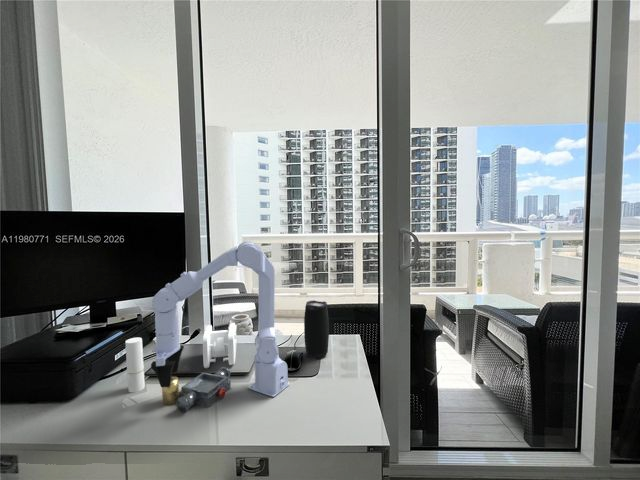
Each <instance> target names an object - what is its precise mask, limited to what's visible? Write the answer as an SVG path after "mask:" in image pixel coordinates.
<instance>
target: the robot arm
mask: <svg viewBox="0 0 640 480" xmlns="http://www.w3.org/2000/svg"><path fill="white" fill-rule="evenodd" d="M238 263H239V264H240V265H242V266H244V267H247V268H248V269H251V270H252V271H253V272H255V273H256V274H257V275H258V325H257V334H256V337H255V339H254V345H255V348H256V354H255V355H254V383H253V384H251V385H250V386H248V389H249V390H252V391H254V392H257V393H260V394H263V395H266V396H270V397H272V398H274V397H276V396H277V395H278V394H279V393H281V392H282V391H283V390H285V389H286V388H288V387H289V386H290V382H289V378H288V377H289V376H288V373H289V372H288V364H287V362H286V361H284V360H283V359H281V358H280V356H279V353H280V350H279V349H280V348H279V347H278V345H277V341H276V332H275V331H276V330H275V266H274V265H273V263H272V262H271V261H270V260H269V258H268V256H266V254H265V253H264V251H263V250H262V249H261V248H260V247H259V246H258V245H257V244H255V243H253V242H251V241H243V242H241V243H240V244H239V245H238V246H234V247H232V248H230V249H228V250H226V251H225V252H223V253H221V254H220V255H219V256H217V257H216V258H214V259H213V260H212V261H210V262H209V263H207V264H206V265H204V266H203V267H202V268H201V269H199V270H198V271H190V270H189V271H188V272H186V271H183V272H182V273H181V274H180V277H178V278H177V279H175V280H174V281H173V282H171V283H170V282H168V283H166V284H165V286H164V287H163V288H161V289H160V290H159V291H157V293H156V294H155V295H154V296H153V298H152V300H151V305H152V307H153V309H154V311H155V316H154V323H155V341H156V342H155V344H156V345H155V346H154V347H153V348H152V349H151V352H152V353H155V355H156V358H155V361H152V363H151V364H150V367H151V369H152V370H153V371H154V373H155V375H156V376H157V379H158V382H159V383H158V384H159V385H160V387H161V388H162V387H169V386H170V383H171V377H172V375H173V374H177V373H178V371H179V368H180V367H179V366H180V362H181V356H182V353H183V351H184V349H185V345H183V344H182V345H181V344H180V329H179V328H180V327H179V326H180V325H179V313H178V305H177V304H178V302H183V301H185V300H186V299H187V298H189V297H190V296H191V295H194V294H195V293H196V292H197V291H199V290H200V289H202V288H203V284H204V281H206V280H208V279H209V278H210V277H212V276H214V275H215V274H217V273H218V272H220V271H222V270H224V269H225V268H227V267H238V266H239V264H238Z"/></svg>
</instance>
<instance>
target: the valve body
mask: <svg viewBox="0 0 640 480" xmlns="http://www.w3.org/2000/svg"><path fill="white" fill-rule="evenodd" d="M230 377H231V370H230V369H229V368H228V367H226V366H221V367H220V368H219V370H218V371H217V372H215V373H214V374H213V373H209V372H201V373H200V374H198V375H197V376H195V378H194V377H193V379H191V380H190V381H188V382H187V383H185V384H184V385H182V386H181V390H179V398H178V399H177V401H176V403H175V406H176V408H177V410H178V411H179V412H180V413H182V414H183V413H184V414H185V413H187V412H188V411H189V410H190V407H192V406H194V405H195V406H196V405H197V406H201V407H204V408H210V407H211V406H212V405H213V404H214V403H216V402H217V401H218V400H219V399H222V398H224V397H225V396H226V393H227V392H229V391H230V390H231V389H232V386H231V385H232V384H231V380H230Z"/></svg>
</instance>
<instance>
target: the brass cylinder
mask: <svg viewBox="0 0 640 480" xmlns="http://www.w3.org/2000/svg"><path fill="white" fill-rule="evenodd" d="M161 392H162V393H161V395H162V397H161V398H162V404H163V405H164V406H171V405H176V401H177V399H178V398H179V392H180V388H179V377H178V376H171V383H170V386H169V387H161Z"/></svg>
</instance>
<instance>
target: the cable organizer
mask: <svg viewBox="0 0 640 480" xmlns="http://www.w3.org/2000/svg"><path fill="white" fill-rule="evenodd" d="M237 328H238V326H237V324H236V323H235V322H231V323H229V326H228V329H225V330H224V329H223V330H221V329H220V330H214V331H213V326H212V324H208V325H207V326H206V328H205V331H204V333H203V336H202V354H203V355H202V357H203V358H202V360H203V362H202V363H203V368H205V369H208V368H209V367H210V365H211V363H216V358H223V362H225V361H227V362H228V365H230V366H233V365H235V363H236V354H237ZM232 364H233V365H232Z"/></svg>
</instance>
